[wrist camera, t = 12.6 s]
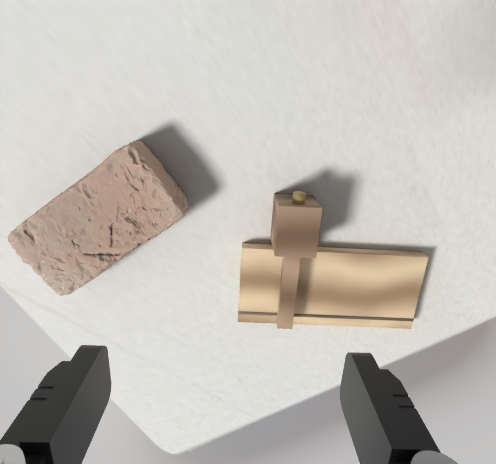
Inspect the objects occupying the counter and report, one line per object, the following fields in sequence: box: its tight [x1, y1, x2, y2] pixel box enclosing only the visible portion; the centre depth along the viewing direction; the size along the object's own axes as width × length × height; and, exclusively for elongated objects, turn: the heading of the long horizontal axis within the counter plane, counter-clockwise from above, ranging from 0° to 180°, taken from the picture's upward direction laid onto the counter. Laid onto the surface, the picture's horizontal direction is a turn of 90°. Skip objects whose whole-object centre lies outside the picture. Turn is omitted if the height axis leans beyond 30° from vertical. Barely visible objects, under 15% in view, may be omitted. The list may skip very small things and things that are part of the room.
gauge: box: [271, 191, 323, 329], centre depth 37 cm, size 15×4×5 cm, turn 177°
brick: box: [8, 141, 188, 296], centre depth 36 cm, size 17×8×5 cm, turn 125°
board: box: [238, 243, 428, 329], centre depth 40 cm, size 9×20×2 cm, turn 87°
